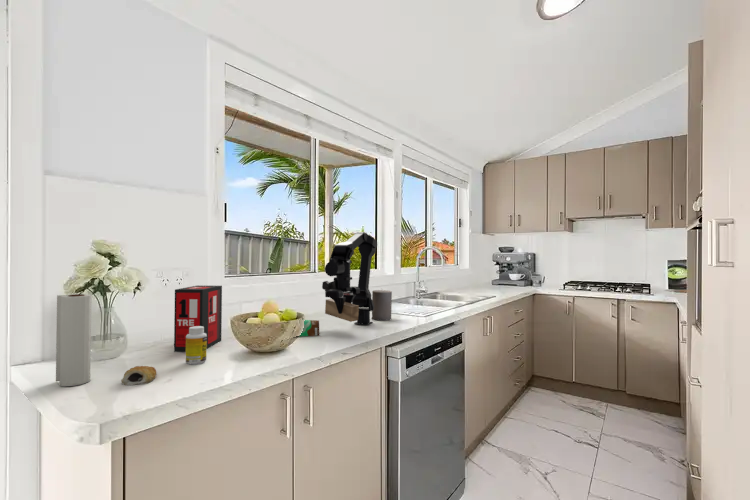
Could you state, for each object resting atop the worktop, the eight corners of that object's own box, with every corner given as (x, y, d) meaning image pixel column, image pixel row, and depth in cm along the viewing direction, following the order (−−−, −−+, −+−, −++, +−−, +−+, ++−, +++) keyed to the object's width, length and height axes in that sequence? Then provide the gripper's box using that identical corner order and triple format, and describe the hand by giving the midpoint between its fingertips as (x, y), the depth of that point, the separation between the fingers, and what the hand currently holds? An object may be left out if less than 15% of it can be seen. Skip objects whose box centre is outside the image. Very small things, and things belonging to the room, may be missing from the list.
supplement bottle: (204, 364, 114) (205, 328, 114) (183, 365, 112) (184, 329, 113) (207, 359, 119) (208, 325, 119) (187, 360, 118) (188, 325, 118)
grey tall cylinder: (93, 382, 97) (94, 294, 97) (62, 389, 93) (63, 296, 93) (85, 376, 102) (86, 292, 102) (55, 382, 97) (57, 294, 98)
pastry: (134, 375, 104) (134, 360, 104) (162, 374, 106) (163, 359, 106) (119, 387, 95) (119, 370, 95) (150, 385, 96) (150, 369, 96)
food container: (319, 320, 154) (293, 320, 152) (319, 336, 154) (292, 337, 152) (318, 315, 166) (293, 315, 164) (318, 330, 166) (293, 330, 164)
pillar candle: (367, 318, 195) (368, 288, 195) (380, 316, 203) (380, 287, 203) (383, 321, 189) (383, 289, 189) (395, 318, 197) (396, 288, 197)
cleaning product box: (196, 340, 144) (197, 285, 145) (221, 340, 144) (221, 285, 145) (174, 352, 128) (174, 289, 128) (201, 352, 128) (202, 289, 128)
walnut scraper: (332, 312, 171) (333, 298, 171) (358, 320, 160) (358, 305, 160) (325, 313, 168) (325, 299, 168) (350, 321, 157) (351, 306, 157)
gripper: (337, 272, 175) (337, 308, 175) (313, 275, 158) (313, 314, 158) (360, 273, 170) (360, 310, 171) (338, 276, 154) (338, 317, 154)
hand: (343, 312), depth 163 cm, fingers closed on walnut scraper, 5 cm apart
